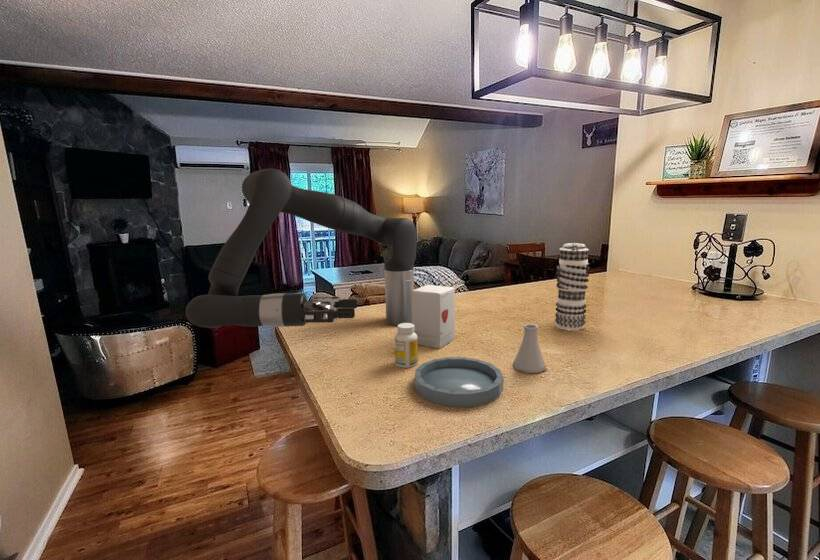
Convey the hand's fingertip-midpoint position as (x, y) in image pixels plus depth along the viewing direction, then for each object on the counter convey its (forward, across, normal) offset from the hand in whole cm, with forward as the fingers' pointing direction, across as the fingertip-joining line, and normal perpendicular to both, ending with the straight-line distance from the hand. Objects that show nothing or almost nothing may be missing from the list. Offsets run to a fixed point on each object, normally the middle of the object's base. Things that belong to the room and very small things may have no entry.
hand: (355, 308), depth 92 cm
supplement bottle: (+12, 0, +14) cm, 18 cm away
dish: (+22, -12, +14) cm, 29 cm away
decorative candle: (+63, +23, +13) cm, 68 cm away
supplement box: (+20, +15, +14) cm, 29 cm away
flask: (+39, -5, +14) cm, 42 cm away
